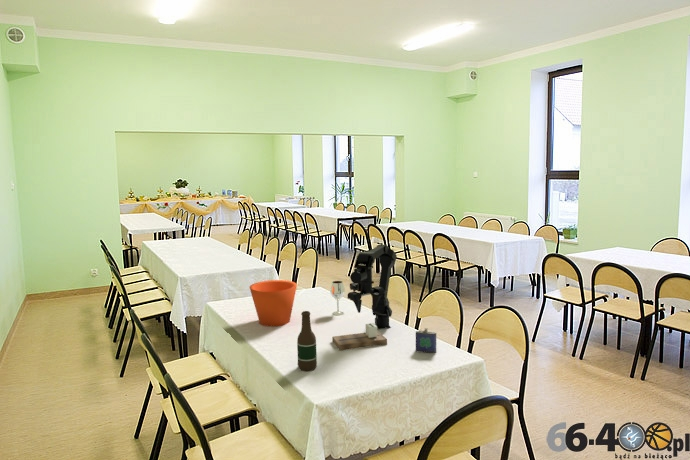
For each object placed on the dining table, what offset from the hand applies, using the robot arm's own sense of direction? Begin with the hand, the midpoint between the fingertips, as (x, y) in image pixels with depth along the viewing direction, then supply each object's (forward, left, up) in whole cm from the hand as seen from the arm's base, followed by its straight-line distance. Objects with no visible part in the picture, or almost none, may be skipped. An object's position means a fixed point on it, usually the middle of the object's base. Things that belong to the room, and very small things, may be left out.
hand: (366, 310), depth 244 cm
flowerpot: (+38, -40, -14) cm, 57 cm away
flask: (-19, +26, -14) cm, 35 cm away
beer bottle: (+35, +26, -14) cm, 46 cm away
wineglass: (+2, -42, -14) cm, 44 cm away
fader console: (+6, +6, -13) cm, 16 cm away
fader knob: (0, +6, -11) cm, 12 cm away
